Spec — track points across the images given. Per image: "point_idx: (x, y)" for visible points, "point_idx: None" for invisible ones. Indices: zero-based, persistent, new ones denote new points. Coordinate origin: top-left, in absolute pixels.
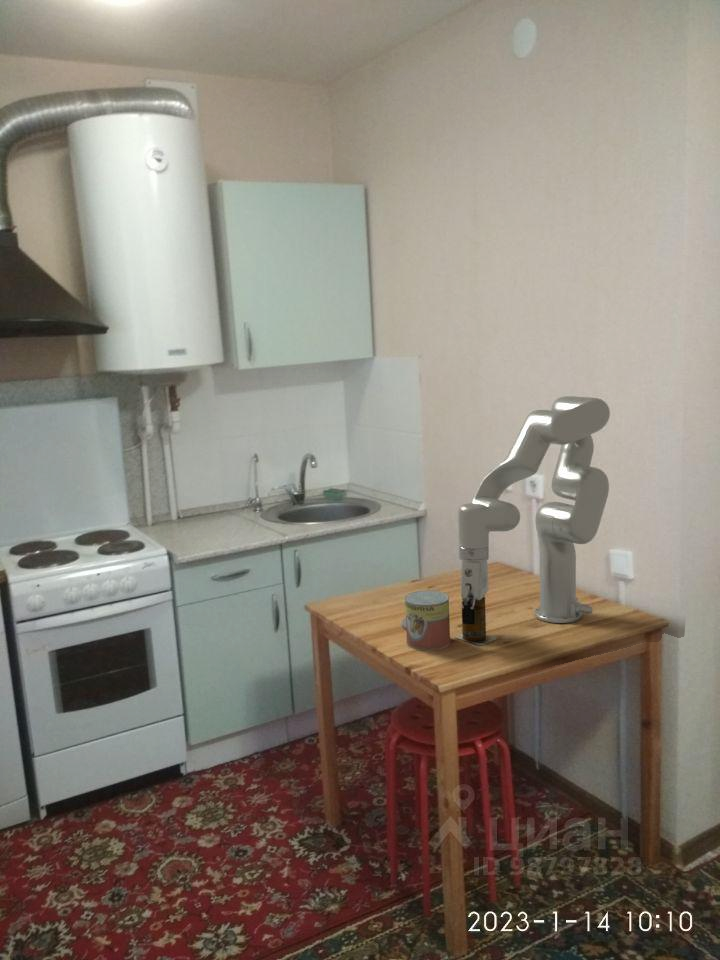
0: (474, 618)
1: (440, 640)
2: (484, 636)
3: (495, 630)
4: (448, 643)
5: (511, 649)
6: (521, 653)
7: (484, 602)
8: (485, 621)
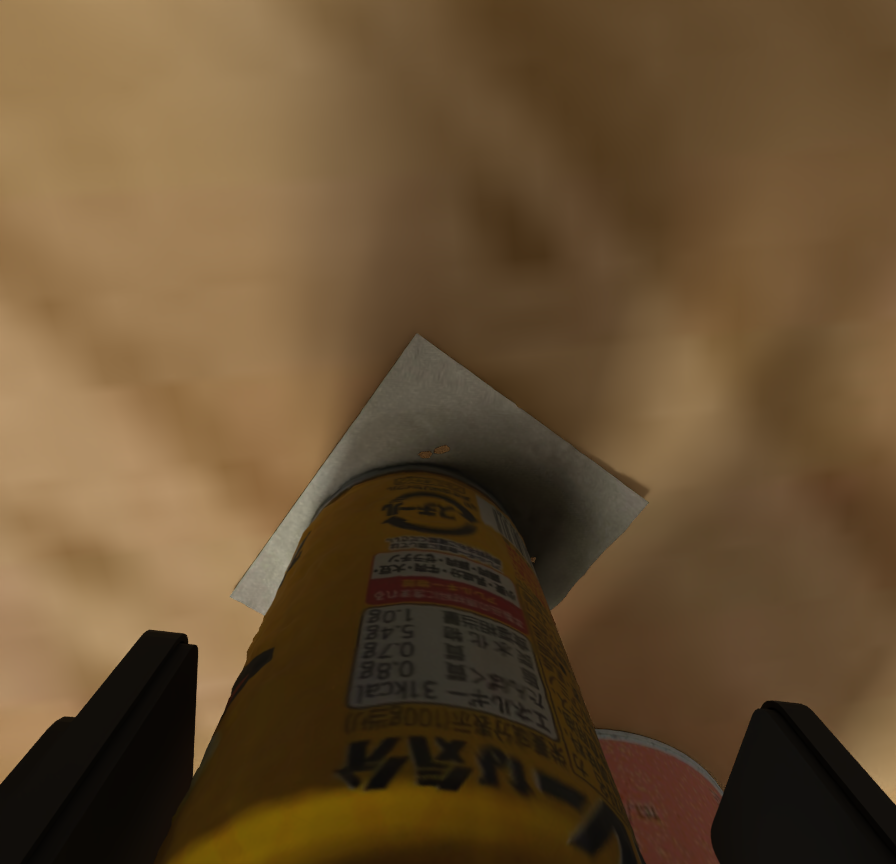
0: (870, 782)
1: None
2: (451, 481)
3: (176, 385)
4: (629, 746)
5: (719, 159)
6: (840, 26)
7: (80, 785)
8: (419, 549)
